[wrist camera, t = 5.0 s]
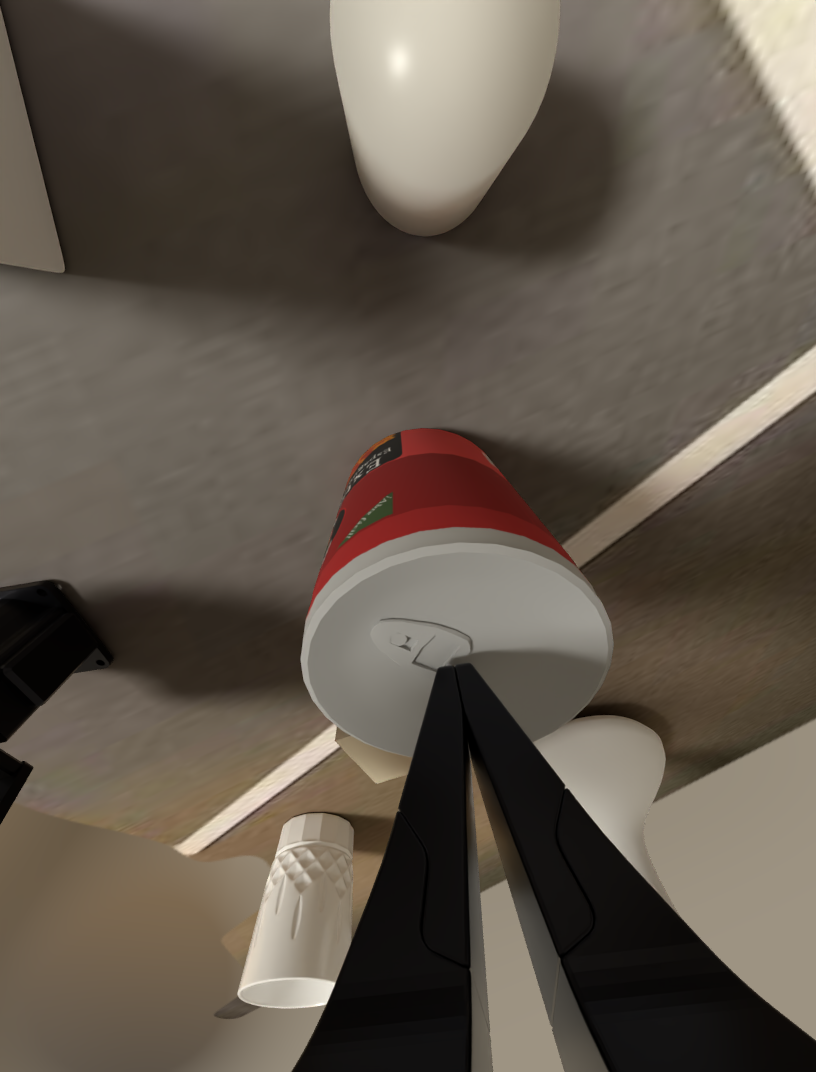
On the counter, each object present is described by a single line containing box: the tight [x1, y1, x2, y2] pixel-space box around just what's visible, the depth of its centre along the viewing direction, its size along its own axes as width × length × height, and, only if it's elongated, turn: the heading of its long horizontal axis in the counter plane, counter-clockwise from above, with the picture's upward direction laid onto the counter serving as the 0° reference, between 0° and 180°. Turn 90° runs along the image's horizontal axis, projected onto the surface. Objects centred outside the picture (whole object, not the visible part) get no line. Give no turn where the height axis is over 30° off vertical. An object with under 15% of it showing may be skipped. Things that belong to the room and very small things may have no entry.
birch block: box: [335, 727, 412, 784], centre depth 23 cm, size 5×5×5 cm
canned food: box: [300, 428, 614, 758], centre depth 14 cm, size 8×8×11 cm
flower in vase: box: [533, 715, 680, 916], centre depth 18 cm, size 13×11×25 cm
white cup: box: [238, 813, 354, 1008], centre depth 30 cm, size 8×8×10 cm
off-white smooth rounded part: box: [330, 0, 560, 236], centre depth 10 cm, size 5×5×5 cm
